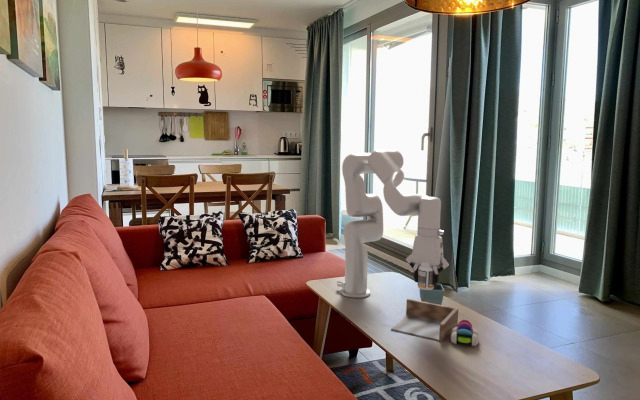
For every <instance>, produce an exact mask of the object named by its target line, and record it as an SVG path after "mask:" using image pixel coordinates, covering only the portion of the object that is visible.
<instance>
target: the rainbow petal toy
mask: <svg viewBox="0 0 640 400" xmlns="http://www.w3.org/2000/svg"><path fill="white" fill-rule="evenodd" d="M450 341H451V343H452V344H455V345H457V342H459V343H461V344H462V343H464V344H470V343H471V347H476V346H477V345H478V343H479V332H478V331H477V330H476V329H474V328H473V325H472V323H471V322H470V321H469V320H467V319H461V321H458V324H457V326H456V327H455V328H453V329H452V332H451V333H450Z"/></svg>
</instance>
